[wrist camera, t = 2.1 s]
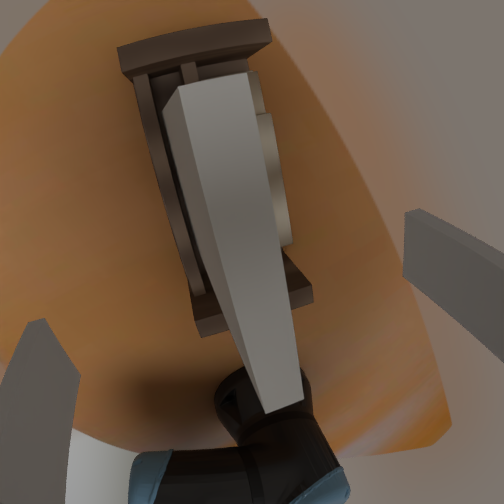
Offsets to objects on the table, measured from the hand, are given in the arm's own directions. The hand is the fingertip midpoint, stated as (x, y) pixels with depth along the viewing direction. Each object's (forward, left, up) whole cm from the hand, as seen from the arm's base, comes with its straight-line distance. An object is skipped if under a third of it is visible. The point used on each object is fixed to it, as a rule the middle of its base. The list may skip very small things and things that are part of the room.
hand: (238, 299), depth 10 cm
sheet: (0, 0, -23) cm, 23 cm away
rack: (0, -2, -24) cm, 24 cm away
